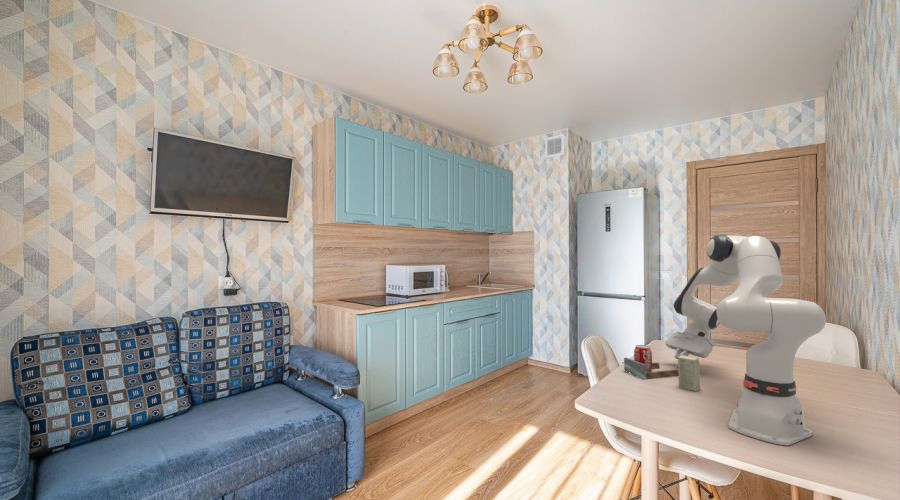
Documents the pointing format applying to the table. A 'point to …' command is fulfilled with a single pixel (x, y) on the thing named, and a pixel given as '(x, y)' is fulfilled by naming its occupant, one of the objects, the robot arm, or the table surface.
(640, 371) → the can dock
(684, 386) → the skincare box
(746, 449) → the table surface
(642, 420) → the table surface
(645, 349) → the soda can
